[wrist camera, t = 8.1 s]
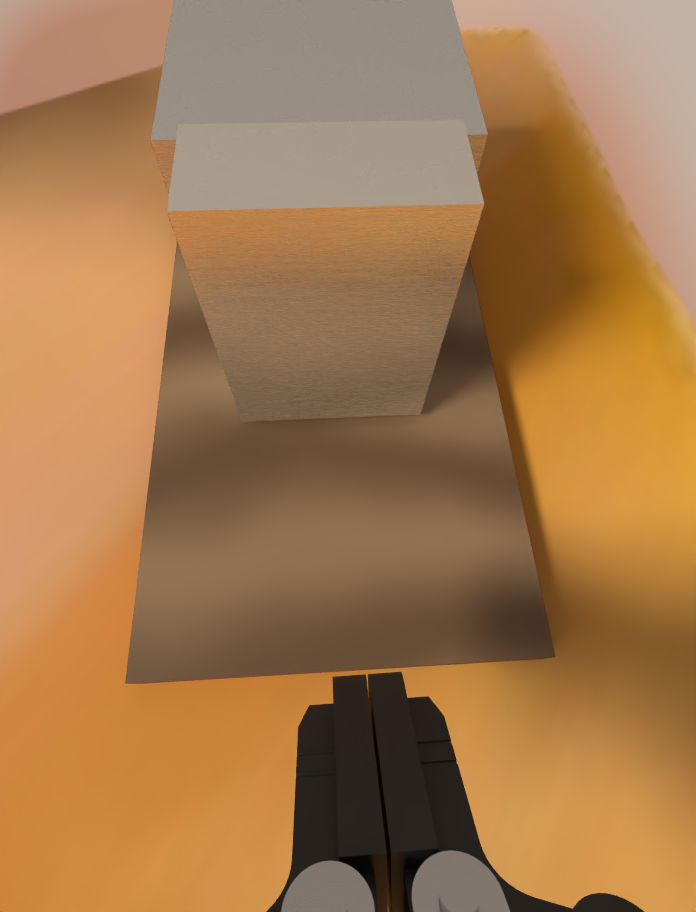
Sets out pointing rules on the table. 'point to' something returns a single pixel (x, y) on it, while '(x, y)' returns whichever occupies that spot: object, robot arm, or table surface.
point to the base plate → (331, 525)
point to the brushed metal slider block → (326, 257)
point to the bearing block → (313, 66)
